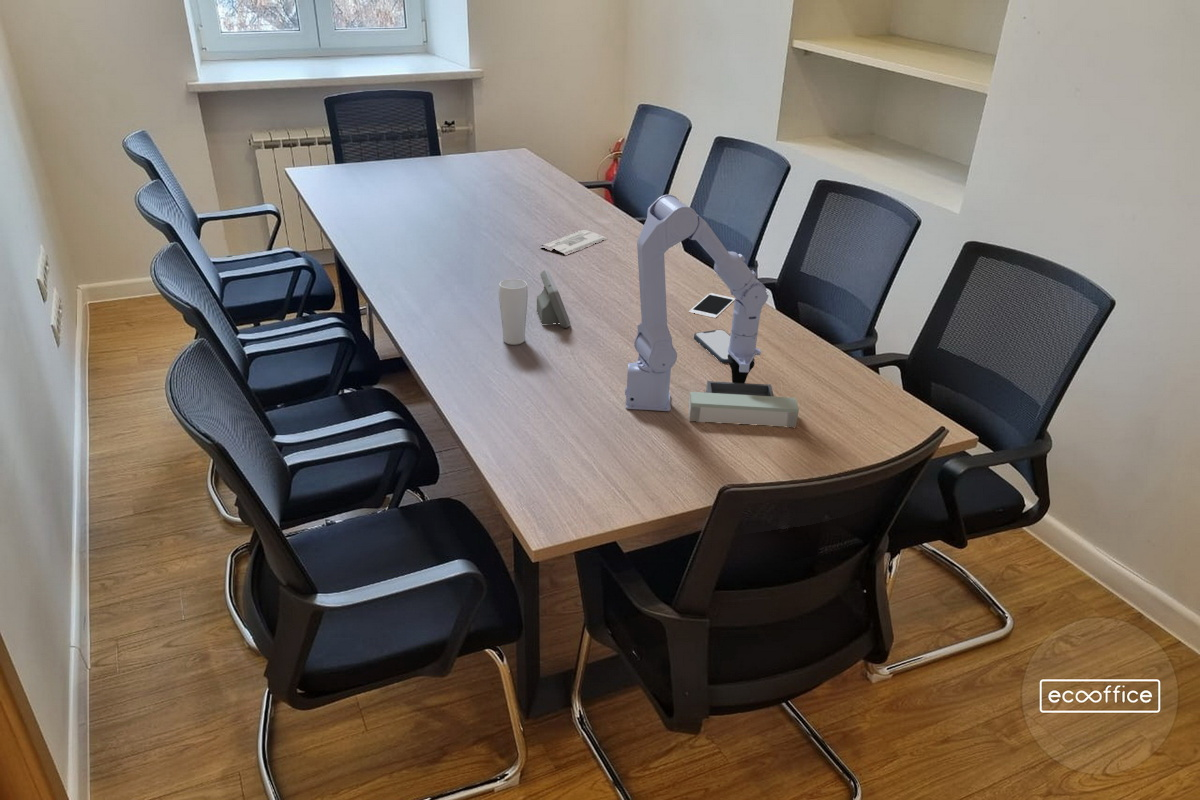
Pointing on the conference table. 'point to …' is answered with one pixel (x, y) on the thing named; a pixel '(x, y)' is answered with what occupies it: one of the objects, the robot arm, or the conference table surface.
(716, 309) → the cell phone
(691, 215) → the robot arm
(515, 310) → the drinking glass
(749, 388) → the shell tray
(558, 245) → the newspaper
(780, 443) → the conference table surface
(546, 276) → the digital clock
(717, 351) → the smartphone
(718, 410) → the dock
